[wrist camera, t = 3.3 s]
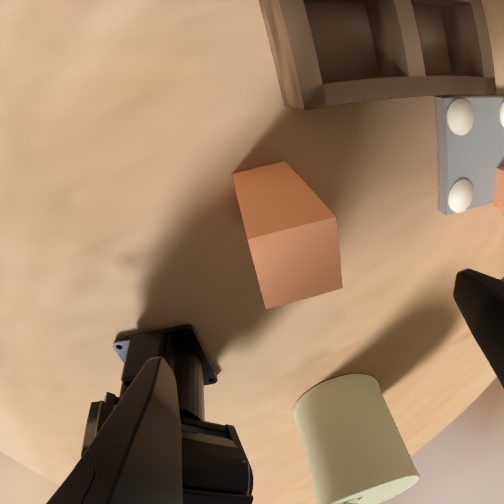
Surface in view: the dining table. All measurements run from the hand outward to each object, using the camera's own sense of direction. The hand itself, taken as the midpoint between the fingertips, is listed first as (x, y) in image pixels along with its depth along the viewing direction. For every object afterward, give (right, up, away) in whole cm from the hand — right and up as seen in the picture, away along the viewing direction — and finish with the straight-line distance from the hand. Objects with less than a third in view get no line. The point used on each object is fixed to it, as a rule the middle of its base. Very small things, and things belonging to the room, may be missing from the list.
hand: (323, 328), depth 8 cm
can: (+7, -13, +21) cm, 26 cm away
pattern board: (+14, +9, +9) cm, 19 cm away
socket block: (+4, +16, +4) cm, 17 cm away
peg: (-1, +5, +10) cm, 11 cm away
